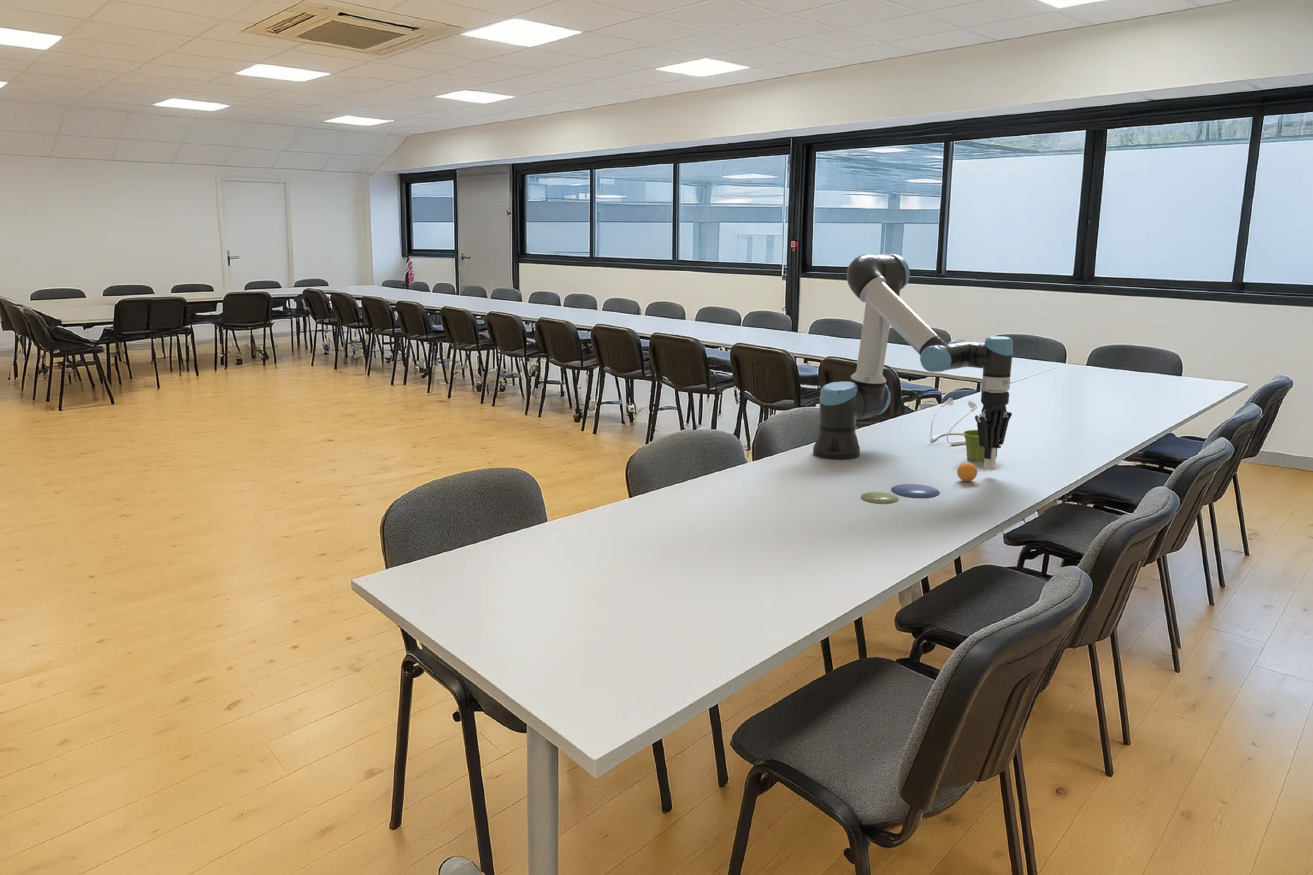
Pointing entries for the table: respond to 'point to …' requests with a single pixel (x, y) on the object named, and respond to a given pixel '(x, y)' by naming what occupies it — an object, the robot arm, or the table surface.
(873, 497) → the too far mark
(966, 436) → the plant pot
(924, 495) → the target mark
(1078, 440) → the table surface
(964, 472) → the ball
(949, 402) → the earphone
